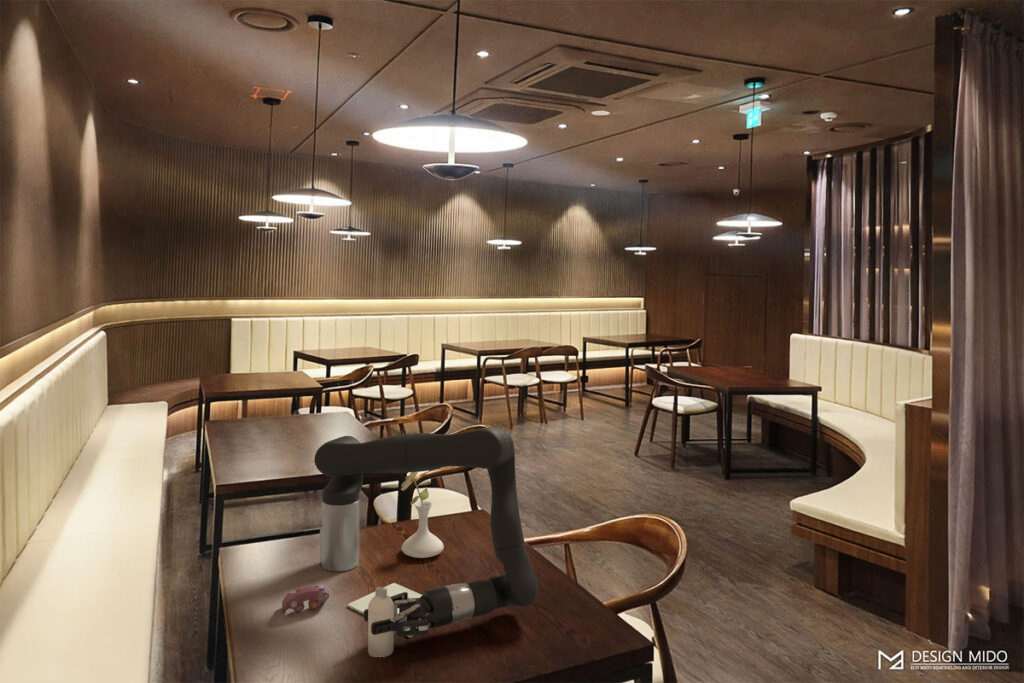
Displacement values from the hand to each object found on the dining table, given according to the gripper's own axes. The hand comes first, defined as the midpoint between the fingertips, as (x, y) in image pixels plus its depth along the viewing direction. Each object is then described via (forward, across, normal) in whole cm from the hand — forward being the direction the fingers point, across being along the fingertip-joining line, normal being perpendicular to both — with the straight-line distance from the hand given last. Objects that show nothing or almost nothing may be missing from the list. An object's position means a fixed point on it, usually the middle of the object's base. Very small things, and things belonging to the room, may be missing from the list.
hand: (368, 622), depth 129 cm
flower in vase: (-26, -41, +7) cm, 49 cm away
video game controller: (+8, -23, +7) cm, 25 cm away
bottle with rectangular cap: (-3, 0, +6) cm, 7 cm away
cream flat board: (-12, -14, +6) cm, 19 cm away
